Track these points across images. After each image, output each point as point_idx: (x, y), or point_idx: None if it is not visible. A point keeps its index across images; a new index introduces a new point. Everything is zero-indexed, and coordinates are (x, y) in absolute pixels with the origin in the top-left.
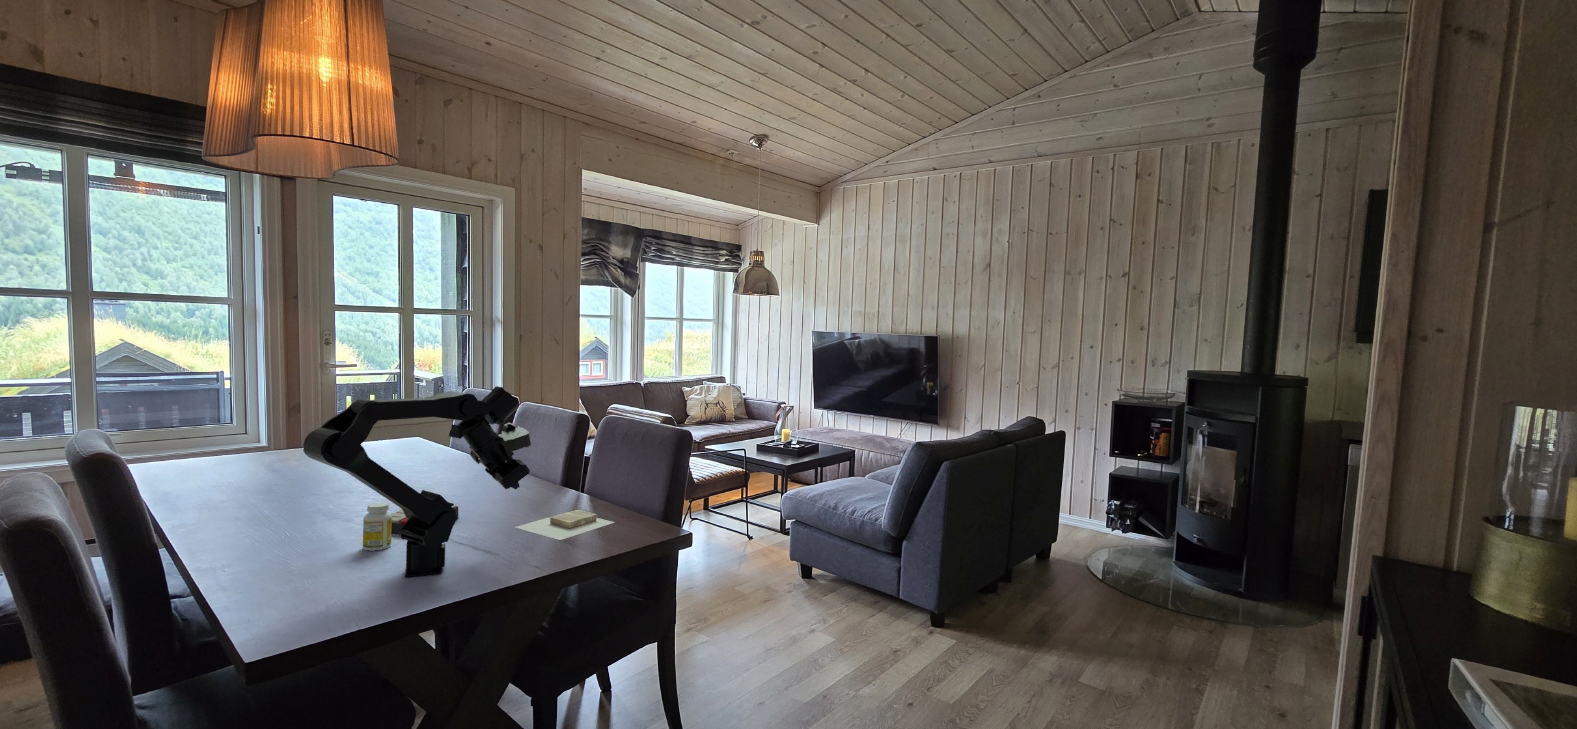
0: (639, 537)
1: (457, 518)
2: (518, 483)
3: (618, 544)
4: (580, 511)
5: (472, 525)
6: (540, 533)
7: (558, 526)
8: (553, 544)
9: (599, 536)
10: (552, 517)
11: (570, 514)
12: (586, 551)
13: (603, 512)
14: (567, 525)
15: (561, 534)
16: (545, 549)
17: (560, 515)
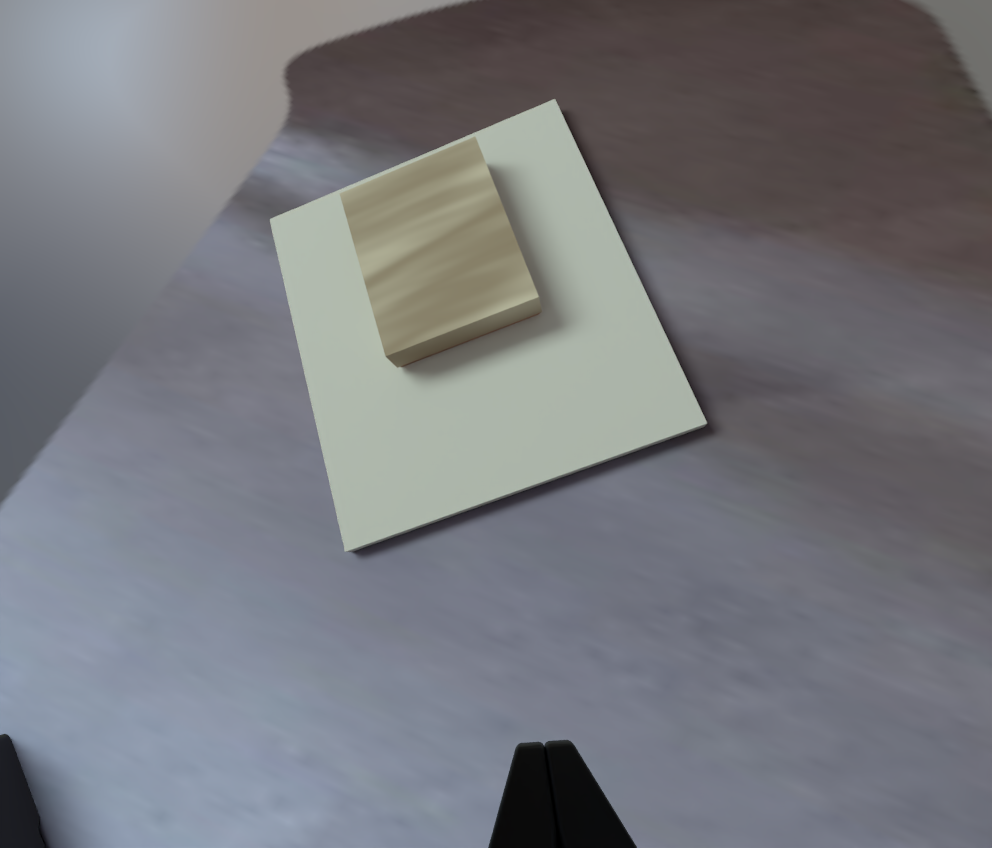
0: (817, 70)
1: (5, 745)
2: (609, 806)
3: (885, 184)
4: (379, 190)
5: (151, 716)
6: (530, 471)
7: (465, 348)
8: (713, 467)
9: (700, 222)
10: (396, 347)
11: (400, 248)
12: (931, 360)
13: (348, 99)
14: (522, 313)
15: (609, 382)
16: (783, 538)
17: (386, 298)
